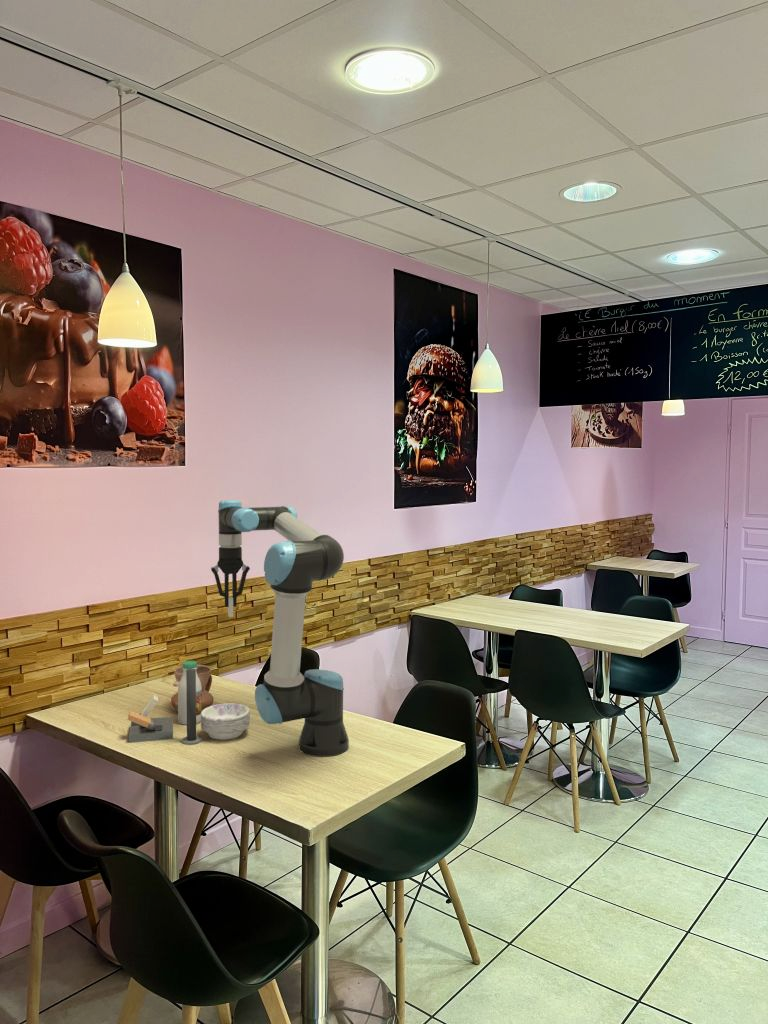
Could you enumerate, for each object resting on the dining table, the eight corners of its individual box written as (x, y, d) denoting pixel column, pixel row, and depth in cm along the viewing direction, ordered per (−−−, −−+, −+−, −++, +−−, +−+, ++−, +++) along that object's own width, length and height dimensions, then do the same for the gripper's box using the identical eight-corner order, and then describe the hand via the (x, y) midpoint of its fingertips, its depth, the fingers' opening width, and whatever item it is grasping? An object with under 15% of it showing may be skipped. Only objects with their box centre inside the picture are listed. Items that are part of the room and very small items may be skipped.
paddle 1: (142, 724, 242) (158, 701, 242) (137, 721, 241) (153, 698, 242) (143, 719, 246) (158, 697, 247) (138, 716, 246) (153, 694, 246)
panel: (173, 738, 236) (173, 730, 236) (129, 742, 232) (129, 734, 232) (173, 723, 249) (173, 716, 249) (131, 727, 246) (131, 719, 246)
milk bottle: (177, 726, 247) (176, 665, 246) (178, 718, 255) (178, 659, 253) (201, 724, 249) (201, 664, 247) (202, 716, 256) (202, 658, 255)
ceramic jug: (189, 719, 254) (190, 677, 253) (158, 711, 261) (159, 670, 260) (226, 706, 269) (227, 666, 268) (196, 698, 276) (197, 660, 276)
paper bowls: (200, 745, 231) (200, 720, 230) (201, 728, 245) (200, 704, 245) (251, 741, 234) (251, 716, 234) (248, 725, 249) (248, 701, 248)
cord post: (202, 743, 232) (201, 672, 230) (181, 745, 230) (181, 673, 229) (201, 736, 238) (200, 666, 236) (181, 738, 236) (180, 668, 235)
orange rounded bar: (155, 725, 236) (130, 714, 234) (152, 730, 236) (127, 720, 233) (156, 720, 240) (130, 710, 238) (153, 725, 240) (127, 715, 238)
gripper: (248, 544, 258) (249, 613, 260) (209, 545, 255) (210, 614, 256) (251, 547, 251) (251, 617, 253) (210, 548, 248) (211, 619, 249)
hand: (230, 616), depth 255 cm, fingers closed
